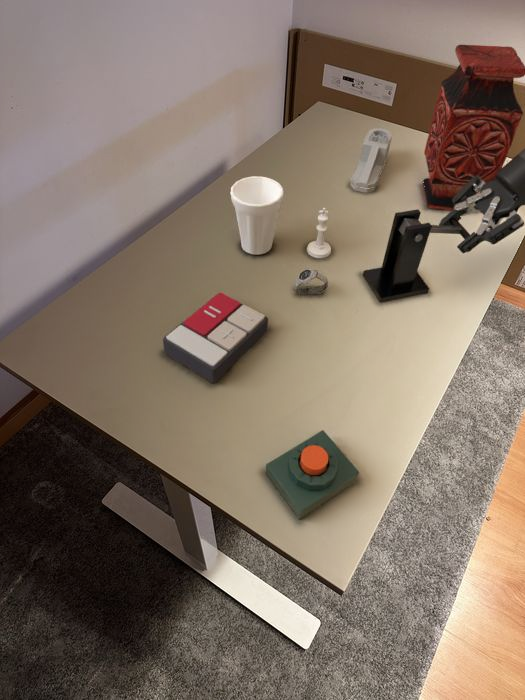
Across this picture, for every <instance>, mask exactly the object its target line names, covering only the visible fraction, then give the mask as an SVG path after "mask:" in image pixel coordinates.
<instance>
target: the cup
mask: <svg viewBox="0 0 525 700" xmlns="http://www.w3.org/2000/svg"><path fill="white" fill-rule="evenodd" d="M230 199H231V200H230V201H231V203H232V205H233V207H234V210H235V214H236V220H237V225H238V232H239V238H240V242H241V244H240V245H241V249H242V250H243V251H244V252H245V253H247V254H250V255H255V256H256V255H257V256H260V255H263V254H266V253H267V252H270V250H271V249H272V247H273V243H274V238H275V233H276V229H277V225H278V220H279V215H280V210H281V205H282V203H283V199H284V188H283V186H282V185H281V183H279V181H276V180H274V179H273V178H269V177H266V176H258V175H257V176H256V175H253V176H248V177H243V178H241V179H239V180H237V181H235V182H234V183H233V185H232V186H231V187H230Z"/></svg>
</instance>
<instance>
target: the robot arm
mask: <svg viewBox="0 0 525 700" xmlns="http://www.w3.org/2000/svg"><path fill="white" fill-rule="evenodd" d="M480 190H481V191H480ZM477 192H479V193H477ZM476 193H477V194H476ZM475 194H476V195H475ZM464 195H465V196H464ZM463 196H464V197H463ZM462 197H463V198H462ZM461 198H462V199H461ZM460 199H461V200H460ZM452 201H453V203H454V209H453V210H450V211H449V212H448V213H447V214H446V215H445V216H444V217H442V219H440V222H439V223H438V225H443V226H452V224H451V223H450V221H451V219H453V218H456V219H457V220H458V222H460V220H462V217H464V216H468V215H470V214H477V213H481V215H483V217H482V218H481V223H480V225H479V227H478V228H477V230H476V232H475V231H473V232H472V233H471V234H470V236H468V237H467V238H466V239H463V240H462V241H460V243H459V244H457V246H456V247H457V249H458V250H459V252H460V253H462V254H466V253H470V252H471V251H472V250H473V249H475V248H476V247H478V245H480V244H481V243H482V242H487V243H490V245H493V246H494V245H497V244H498V243H499V242H501V241H503V240H504V239H506V238H507V237H509V236H510V235H513V233H515V232H516V231H518V230H519V229H521V228H522V227H524V226H525V221H524V219H523V218H522V216H521V215H520V214H519V213H518V211H519V209H520V208H521V207H522V206H525V148H523V149H522V150H521V151H520V152H519V153H517V154H516V156H514V157H513V158H512V159H510V160H509V161H508V162H507V163H506V164H505V165H503V166H502V168H501V169H500V170H499V171H498V172H497V173H496V176H495V178H494V179H492V180H491V181H488V182H484V181H482V180H481V179H480V177H479V176H478V175H475V176H474V177H473V178H472V179H471V180H470V181H469V182H468V183H467V184H466V185H465V186H464V187H463V188H462V189H461V190H460V191H459V192H458V193H457V194H456V195H455V196H454V197H453V199H452ZM475 202H476V204H475ZM505 218H506V219H505ZM503 219H505V220H504V221H503V222H502V220H503Z"/></svg>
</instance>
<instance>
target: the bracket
mask: <svg viewBox="0 0 525 700" xmlns="http://www.w3.org/2000/svg"><path fill="white" fill-rule="evenodd" d="M421 214H422V211H420V209H418V208H417V209H411V210H406V211H399V212H395V213H394V216H393V221H392V224H391V227H390V228H391V229H390V233H389V236H388V241H387V245H386V249H385V252H384V256H383V261H382V264H381V267H377V268H376V267H375V268H370V269H366V270H363V272H362V277H363V279H364V280H365V282H366V283H367V285H368V287H369V288H370V290H371V291H372V293H373V295H374V296H375V298H376V299H377V301H378V302H379V304H382V303H385V302H390V301H397V300H403V299H406V298H407V299H408V298H412V297H417V296H421V295H427V294H429V292H430V287H429V286H428V284H427V283H426V282H425V281H424V279H423V278H422V276H421V275H420V273H419V272H418V270H419V267H420V264H421V262H422V258H423V255H424V252H425V249H426V246H427V242H428V239H429V236H430V234H431V233H430V231H431V227H432V225H433V224H431V223H430V222H424V223H421V224H418V225H412V226H406V228H405V231H404V235H402V234H401V232H400V231H399V228H400V226H401V224H402V222H403V220H404V218H408V219H418V220H419V221H420V217H421Z"/></svg>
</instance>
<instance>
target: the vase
mask: <svg viewBox="0 0 525 700" xmlns="http://www.w3.org/2000/svg"><path fill="white" fill-rule="evenodd" d="M455 55H456V58H457V61H458V62H459V65H458V66H457V68H456V70H455V71H454V72H452V74H450V75H449V76H448V77H447V78H445V79H443V80H442V81H441V83H440V88H439V93H438V96H437V99H436V102H435V106H434V110H433V114H432V119H431V122H430V126H429V131H428V136H427V140H426V143H425V147H424V156H425V161H426V166H427V172H428V175H429V178H424V179H423V180H422V188H423V192H424V193H423V194H424V198H425V204H426V208H428V209H429V210H430V209H431V210H442V211H452V210H453V209H454V203H453V201H452V199H453V197H454V196H455V195H456V194H457V193H458V192H459V191H460V190H461V189H462V188H463V187H464V186H465V185H466V184H467V183H468V182H469V181H470V180H471V179H472V178H473V177H474V176H475V175H478V176H479V177H480V179H481V180H482V181H484V182H488V181H491V180H492V179H494V178H495V176H496V173H497V172H498V171H499V170H500V169H501V168H503V167H504V164H505V162H506V160H507V156H508V153H509V150H510V149H511V147H512V144H513V141H514V138H515V135H516V131H517V128H518V127H519V124H520V122H521V119H522V118H523V116H524V111H523V109H522V107H521V105H520V104H519V101H518V99H517V96H516V94H515V90H514V89H515V88H514V81H515V80H514V79H521V78H523V77H525V64H524V62H523V61H522V58H520V56H518V53H517V51H516V49H515V48H514V47H512V46H500V45H481V44H480V45H478V44H477V45H476V44H458V45H456V46H455ZM423 182H424V183H423ZM424 186H425V187H424ZM480 191H481V190H480ZM478 193H480V192H477V193H476V194H478ZM476 194H475V195H476ZM464 196H465V195H464ZM464 196H463V197H464ZM463 197H462V198H463ZM462 198H461V199H462ZM461 199H460V200H461ZM475 204H476V202H475Z"/></svg>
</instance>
